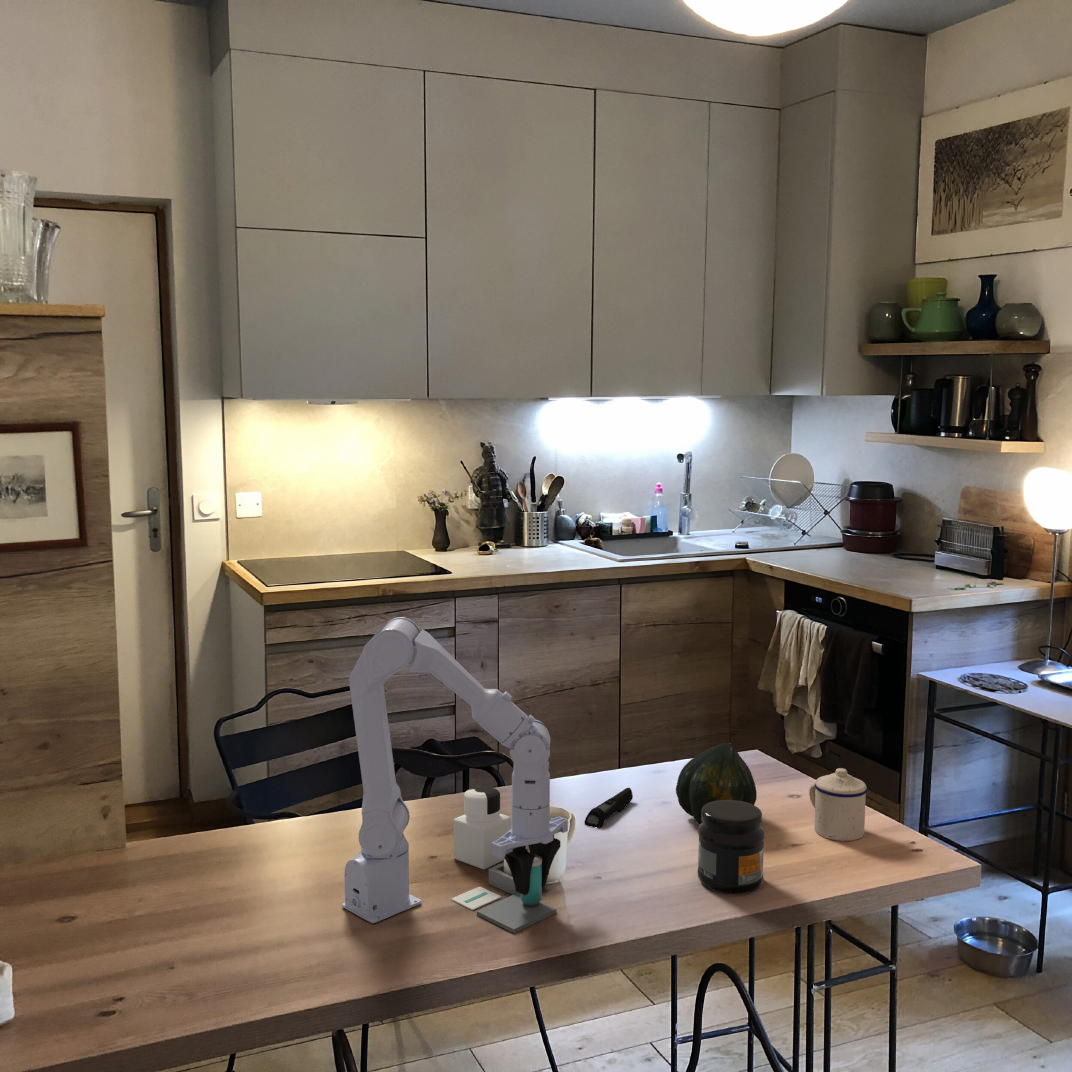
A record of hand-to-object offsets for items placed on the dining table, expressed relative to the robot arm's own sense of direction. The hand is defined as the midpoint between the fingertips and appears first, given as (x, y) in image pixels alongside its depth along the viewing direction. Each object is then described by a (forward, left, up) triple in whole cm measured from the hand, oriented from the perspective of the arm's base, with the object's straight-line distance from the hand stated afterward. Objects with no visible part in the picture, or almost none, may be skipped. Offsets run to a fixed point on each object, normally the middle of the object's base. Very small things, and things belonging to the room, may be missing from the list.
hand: (530, 888), depth 164 cm
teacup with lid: (+60, -18, -3) cm, 63 cm away
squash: (+49, 0, -3) cm, 49 cm away
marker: (0, 0, -2) cm, 2 cm away
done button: (+4, +7, -2) cm, 9 cm away
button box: (+4, +7, -3) cm, 9 cm away
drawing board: (-3, 0, -3) cm, 4 cm away
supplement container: (+29, -17, -3) cm, 34 cm away
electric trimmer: (+37, +16, -3) cm, 41 cm away
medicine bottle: (+7, +18, -3) cm, 20 cm away
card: (-4, +8, -3) cm, 9 cm away
